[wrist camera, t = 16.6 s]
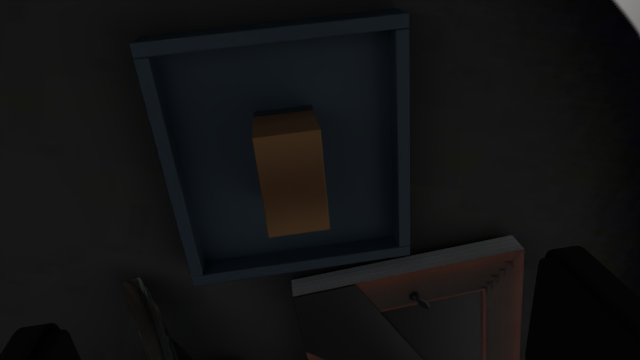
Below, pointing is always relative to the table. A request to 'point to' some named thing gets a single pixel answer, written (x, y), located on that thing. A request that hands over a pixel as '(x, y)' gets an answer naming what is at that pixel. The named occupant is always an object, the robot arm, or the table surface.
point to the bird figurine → (151, 324)
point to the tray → (277, 93)
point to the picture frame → (418, 306)
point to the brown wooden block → (291, 170)
